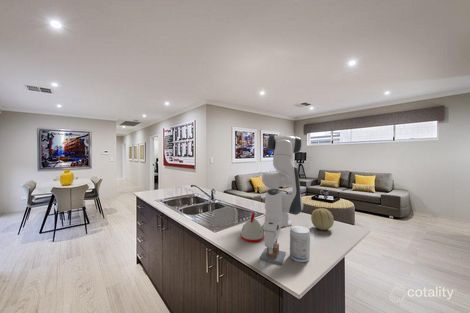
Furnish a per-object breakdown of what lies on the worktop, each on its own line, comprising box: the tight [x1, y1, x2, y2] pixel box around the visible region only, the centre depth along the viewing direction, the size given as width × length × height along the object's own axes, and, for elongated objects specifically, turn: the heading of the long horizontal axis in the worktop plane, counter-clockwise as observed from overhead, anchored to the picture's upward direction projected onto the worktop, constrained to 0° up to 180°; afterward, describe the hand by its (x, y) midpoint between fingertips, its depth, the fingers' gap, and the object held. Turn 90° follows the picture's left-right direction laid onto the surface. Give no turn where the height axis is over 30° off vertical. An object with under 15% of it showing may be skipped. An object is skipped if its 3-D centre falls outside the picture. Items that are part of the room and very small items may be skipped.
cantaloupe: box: [310, 206, 335, 231], centre depth 141 cm, size 15×15×15 cm
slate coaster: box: [259, 247, 287, 266], centre depth 102 cm, size 11×11×1 cm
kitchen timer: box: [240, 212, 264, 243], centre depth 125 cm, size 14×14×15 cm
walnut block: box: [266, 242, 280, 258], centre depth 102 cm, size 5×5×5 cm
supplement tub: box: [289, 225, 311, 263], centre depth 101 cm, size 10×10×15 cm
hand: (273, 248), depth 102 cm, fingers open, 8 cm apart
